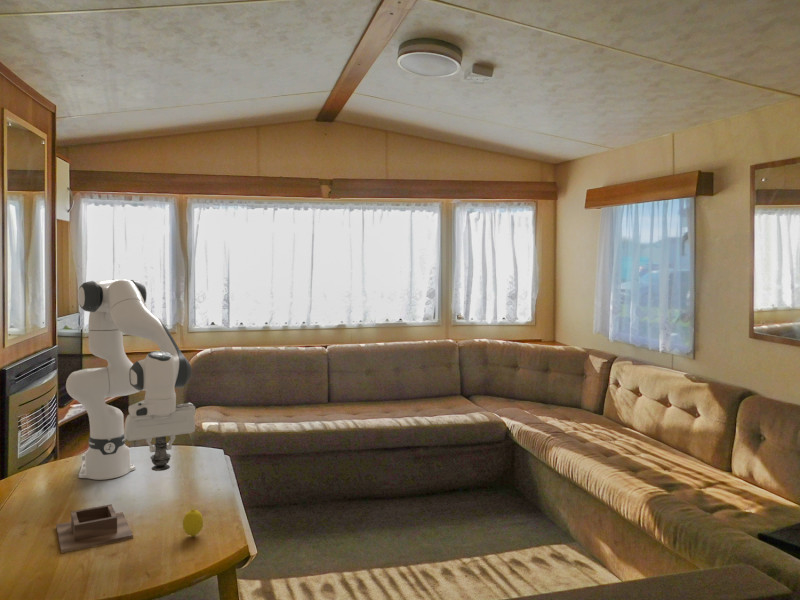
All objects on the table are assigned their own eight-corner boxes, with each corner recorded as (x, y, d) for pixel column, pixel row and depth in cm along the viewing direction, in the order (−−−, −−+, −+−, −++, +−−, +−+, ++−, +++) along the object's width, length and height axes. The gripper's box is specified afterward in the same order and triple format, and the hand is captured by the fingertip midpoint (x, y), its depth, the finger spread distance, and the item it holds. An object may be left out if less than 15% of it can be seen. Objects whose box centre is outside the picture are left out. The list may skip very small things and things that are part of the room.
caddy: (56, 527, 184) (56, 509, 184) (122, 515, 194) (122, 497, 194) (61, 553, 169) (60, 533, 169) (132, 538, 179) (132, 519, 178)
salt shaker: (163, 472, 189) (163, 432, 188) (146, 470, 190) (146, 431, 189) (174, 465, 194) (174, 427, 193) (157, 463, 196) (157, 425, 195)
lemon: (185, 532, 183) (185, 505, 183) (205, 532, 184) (205, 505, 183) (180, 541, 178) (180, 513, 177) (200, 540, 178) (200, 513, 178)
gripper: (192, 399, 199) (192, 442, 200) (122, 407, 188) (123, 452, 189) (198, 404, 193) (198, 448, 195) (126, 412, 183) (126, 458, 184)
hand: (160, 450), depth 192 cm, fingers closed on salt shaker, 3 cm apart
